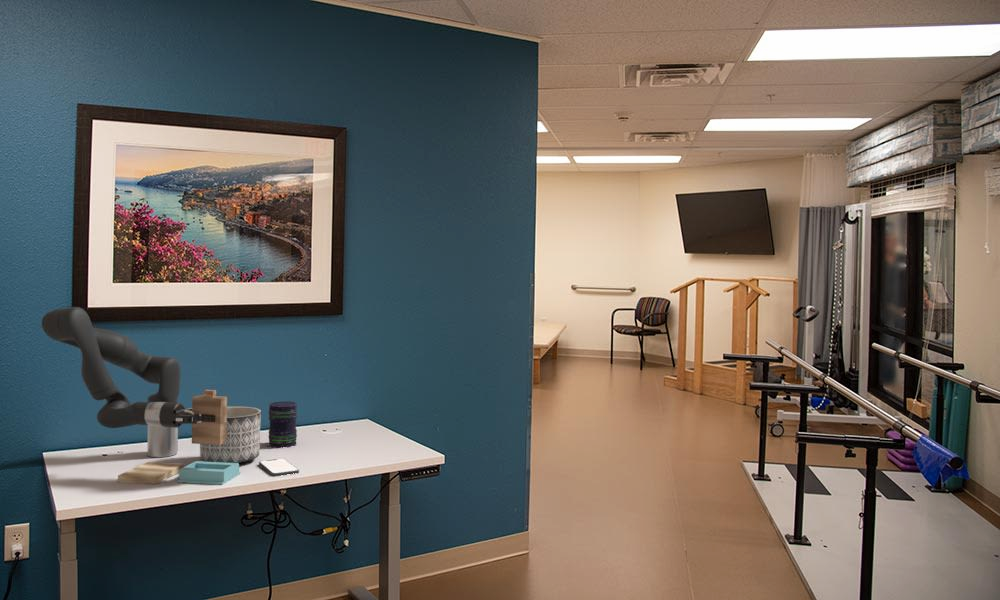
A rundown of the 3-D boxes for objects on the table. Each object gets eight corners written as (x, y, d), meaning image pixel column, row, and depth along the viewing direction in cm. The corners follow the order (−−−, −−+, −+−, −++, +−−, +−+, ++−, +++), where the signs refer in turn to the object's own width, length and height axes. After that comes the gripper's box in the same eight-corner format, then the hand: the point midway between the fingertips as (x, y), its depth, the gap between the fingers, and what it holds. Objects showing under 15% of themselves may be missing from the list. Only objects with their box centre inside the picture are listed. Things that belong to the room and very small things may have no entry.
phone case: (300, 475, 242) (284, 462, 255) (300, 470, 242) (284, 457, 255) (272, 479, 237) (257, 466, 251) (272, 473, 237) (257, 461, 251)
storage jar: (280, 440, 285) (280, 400, 284) (302, 443, 281) (302, 402, 281) (262, 446, 276) (262, 404, 275) (285, 449, 272) (285, 407, 272)
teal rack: (197, 471, 241) (197, 460, 241) (240, 473, 240) (240, 462, 240) (177, 482, 229) (177, 470, 229) (222, 484, 228) (222, 472, 228)
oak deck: (148, 468, 244) (148, 461, 244) (184, 469, 243) (184, 463, 243) (117, 482, 228) (117, 475, 228) (156, 484, 227) (156, 477, 227)
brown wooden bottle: (198, 440, 236) (199, 388, 236) (226, 442, 235) (227, 390, 235) (191, 443, 232) (192, 390, 232) (220, 444, 231) (220, 392, 231)
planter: (187, 461, 253) (187, 412, 252) (238, 451, 268) (238, 404, 267) (220, 472, 241) (221, 420, 240) (272, 460, 256) (272, 411, 256)
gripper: (152, 406, 228) (207, 408, 226) (177, 398, 242) (229, 401, 240) (151, 431, 228) (206, 434, 226) (176, 422, 242) (228, 424, 240)
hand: (218, 417), depth 233 cm, fingers closed on brown wooden bottle, 4 cm apart
